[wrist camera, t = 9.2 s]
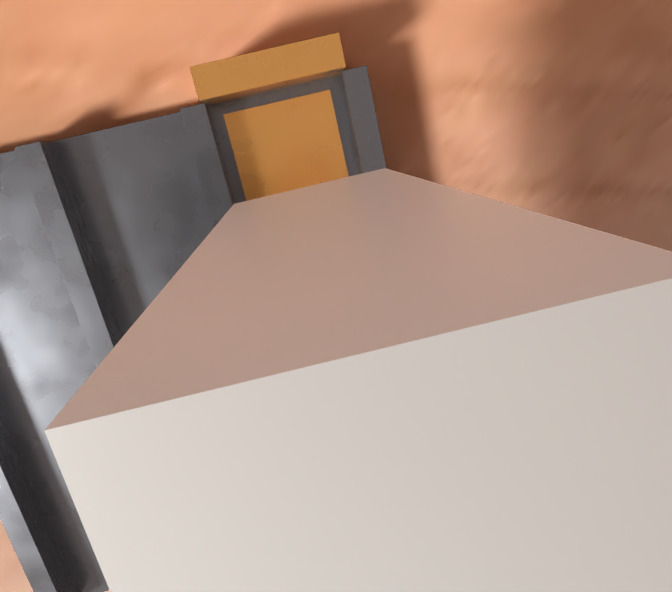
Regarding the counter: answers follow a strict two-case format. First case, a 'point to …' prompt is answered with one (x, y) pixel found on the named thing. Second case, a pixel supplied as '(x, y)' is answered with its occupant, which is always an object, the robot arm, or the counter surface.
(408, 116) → the counter surface
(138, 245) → the floor rack
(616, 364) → the long white block
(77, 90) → the counter surface
